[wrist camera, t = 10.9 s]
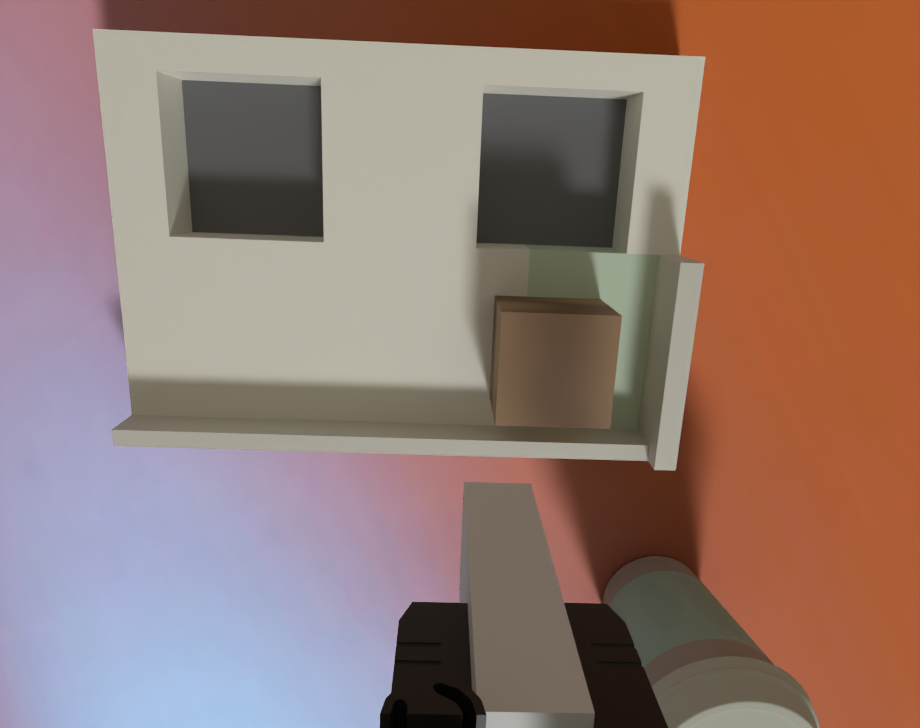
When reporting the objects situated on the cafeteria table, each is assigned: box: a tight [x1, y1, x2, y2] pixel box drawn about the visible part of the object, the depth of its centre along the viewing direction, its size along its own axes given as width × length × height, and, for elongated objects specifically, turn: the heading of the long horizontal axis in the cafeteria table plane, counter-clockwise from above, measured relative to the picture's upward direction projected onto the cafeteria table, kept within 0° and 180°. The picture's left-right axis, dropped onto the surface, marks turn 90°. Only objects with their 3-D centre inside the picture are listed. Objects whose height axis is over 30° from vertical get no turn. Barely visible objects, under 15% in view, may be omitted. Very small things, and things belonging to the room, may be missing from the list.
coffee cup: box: [603, 556, 820, 728], centre depth 33 cm, size 8×9×12 cm
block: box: [490, 295, 622, 429], centre depth 30 cm, size 5×5×4 cm
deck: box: [93, 29, 705, 471], centre depth 30 cm, size 26×18×6 cm
